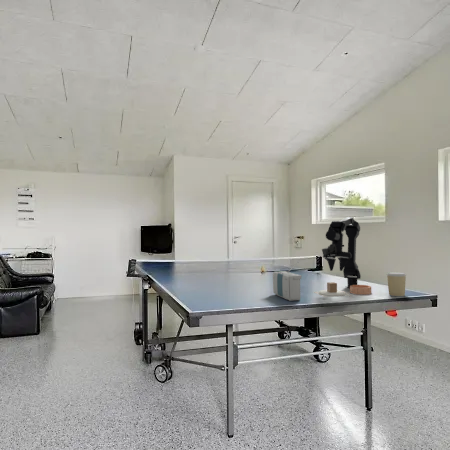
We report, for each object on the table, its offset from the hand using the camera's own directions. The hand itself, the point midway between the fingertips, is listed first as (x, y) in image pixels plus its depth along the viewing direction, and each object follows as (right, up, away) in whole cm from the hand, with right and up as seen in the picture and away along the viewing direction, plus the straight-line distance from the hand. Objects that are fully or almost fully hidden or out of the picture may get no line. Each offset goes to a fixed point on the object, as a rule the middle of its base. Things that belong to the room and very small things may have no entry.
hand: (336, 270), depth 194 cm
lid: (-2, -13, +1) cm, 13 cm away
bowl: (+15, -13, +4) cm, 20 cm away
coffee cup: (+32, -13, -3) cm, 35 cm away
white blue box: (-28, -14, -5) cm, 32 cm away
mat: (-2, -13, +1) cm, 14 cm away
